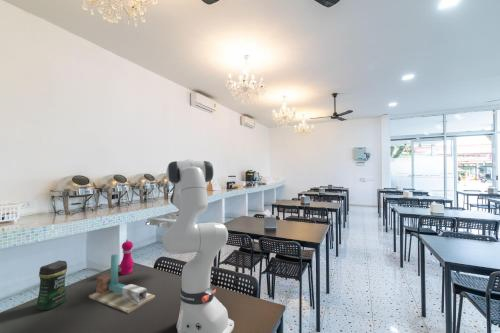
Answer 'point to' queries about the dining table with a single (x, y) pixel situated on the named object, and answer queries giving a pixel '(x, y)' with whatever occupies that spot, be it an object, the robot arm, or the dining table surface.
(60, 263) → the coffee jar
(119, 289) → the tube
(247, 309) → the dining table surface
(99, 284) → the tube fixture
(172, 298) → the dining table surface
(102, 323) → the dining table surface
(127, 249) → the pepper mill
